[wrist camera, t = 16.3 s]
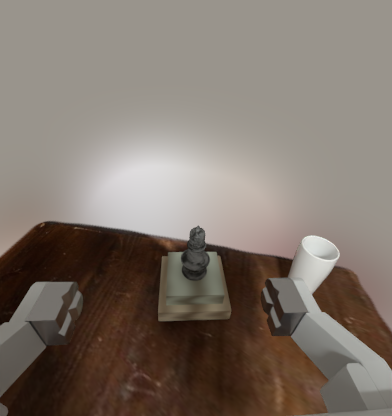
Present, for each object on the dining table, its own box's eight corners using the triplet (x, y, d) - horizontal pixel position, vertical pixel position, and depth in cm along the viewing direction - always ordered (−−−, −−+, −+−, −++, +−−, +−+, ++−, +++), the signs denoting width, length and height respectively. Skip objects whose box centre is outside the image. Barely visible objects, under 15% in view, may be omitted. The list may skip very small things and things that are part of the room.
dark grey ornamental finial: (214, 271, 47) (221, 227, 40) (193, 287, 43) (197, 242, 36) (195, 255, 50) (199, 212, 43) (174, 268, 47) (174, 224, 40)
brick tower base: (158, 321, 44) (157, 303, 40) (162, 264, 55) (161, 247, 52) (229, 318, 45) (234, 301, 41) (218, 264, 56) (221, 247, 53)
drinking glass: (282, 277, 54) (303, 230, 45) (311, 289, 52) (340, 242, 43) (276, 299, 49) (299, 251, 40) (309, 314, 47) (340, 266, 38)
